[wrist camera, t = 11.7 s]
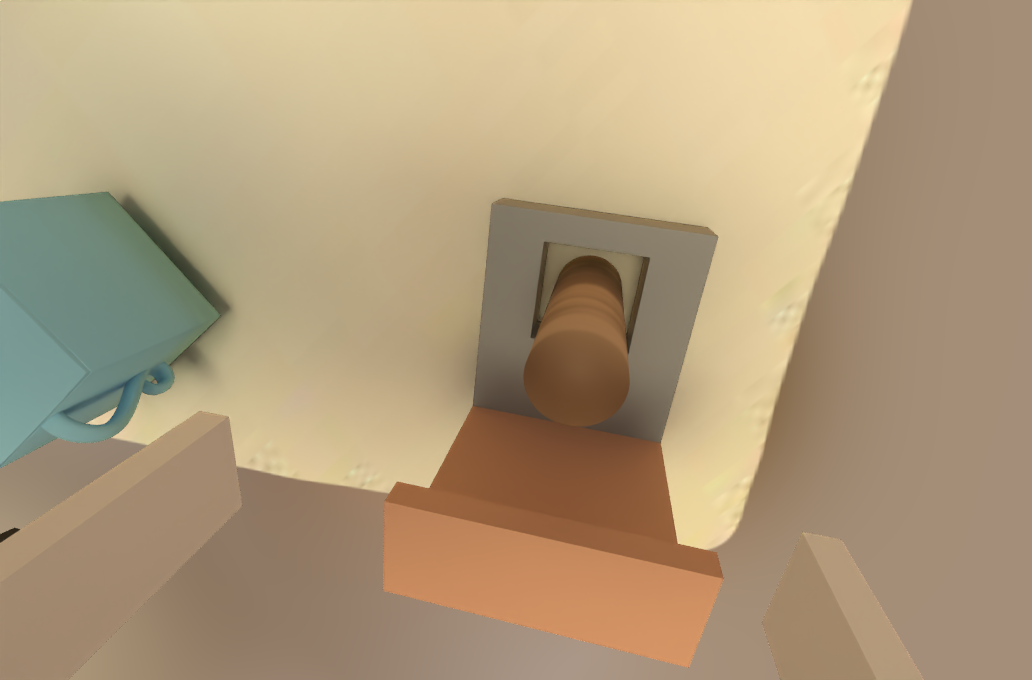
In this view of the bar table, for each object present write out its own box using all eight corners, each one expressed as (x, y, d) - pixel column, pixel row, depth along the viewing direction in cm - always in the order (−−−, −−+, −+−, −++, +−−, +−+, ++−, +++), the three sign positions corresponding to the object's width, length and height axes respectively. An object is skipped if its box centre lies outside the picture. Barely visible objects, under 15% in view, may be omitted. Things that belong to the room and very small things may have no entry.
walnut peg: (562, 250, 30) (531, 322, 18) (627, 261, 29) (640, 342, 17) (552, 311, 31) (517, 415, 19) (614, 322, 31) (617, 435, 19)
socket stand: (498, 197, 29) (387, 248, 15) (713, 228, 28) (826, 318, 13) (477, 405, 35) (383, 590, 20) (654, 441, 33) (688, 667, 19)
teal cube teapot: (101, 158, 33) (-183, 164, 21) (262, 335, 36) (92, 428, 24) (-3, 300, 39) (-265, 367, 28) (141, 441, 42) (-40, 555, 31)
